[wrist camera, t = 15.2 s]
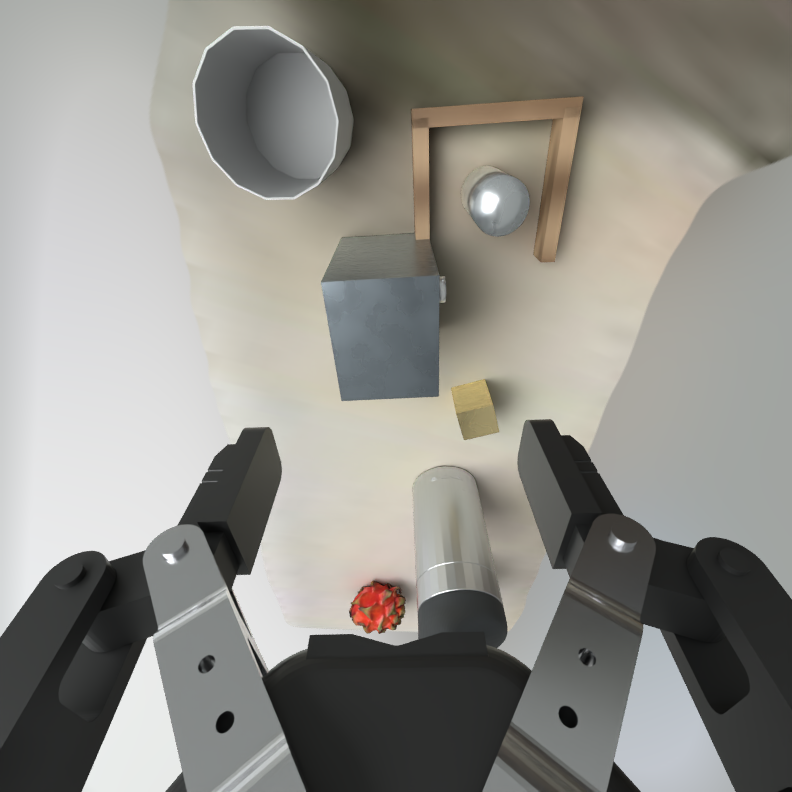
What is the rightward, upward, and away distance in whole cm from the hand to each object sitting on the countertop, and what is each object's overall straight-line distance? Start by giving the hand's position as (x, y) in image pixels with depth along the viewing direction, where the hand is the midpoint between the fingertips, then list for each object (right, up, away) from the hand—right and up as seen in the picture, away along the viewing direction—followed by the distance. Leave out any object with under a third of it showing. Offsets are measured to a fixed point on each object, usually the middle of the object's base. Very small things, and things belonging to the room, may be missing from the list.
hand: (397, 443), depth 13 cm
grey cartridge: (+8, +19, +21) cm, 30 cm away
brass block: (+9, +2, +34) cm, 35 cm away
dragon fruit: (-3, -34, +60) cm, 69 cm away
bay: (+8, +19, +21) cm, 30 cm away
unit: (-1, +12, +26) cm, 29 cm away
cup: (-8, +24, +19) cm, 31 cm away
